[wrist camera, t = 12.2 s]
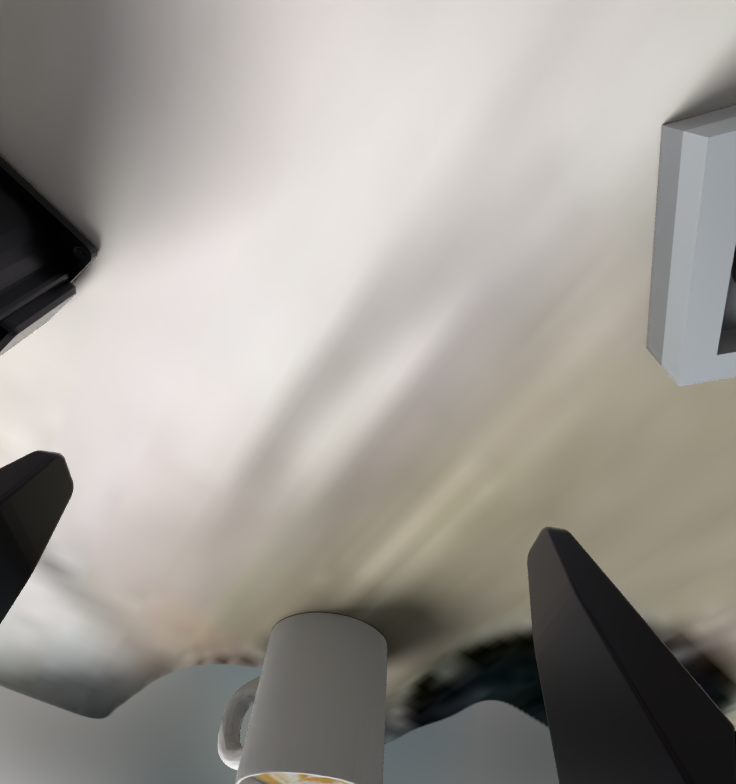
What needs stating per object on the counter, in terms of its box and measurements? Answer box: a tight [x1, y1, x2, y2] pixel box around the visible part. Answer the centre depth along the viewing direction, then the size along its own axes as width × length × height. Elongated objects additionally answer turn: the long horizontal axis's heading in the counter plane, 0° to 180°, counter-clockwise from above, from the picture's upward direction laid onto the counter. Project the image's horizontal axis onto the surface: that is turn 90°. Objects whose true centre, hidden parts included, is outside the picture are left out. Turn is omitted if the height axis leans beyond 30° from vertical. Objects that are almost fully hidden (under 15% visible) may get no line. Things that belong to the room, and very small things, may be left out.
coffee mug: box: [218, 612, 388, 784], centre depth 35 cm, size 13×10×10 cm
